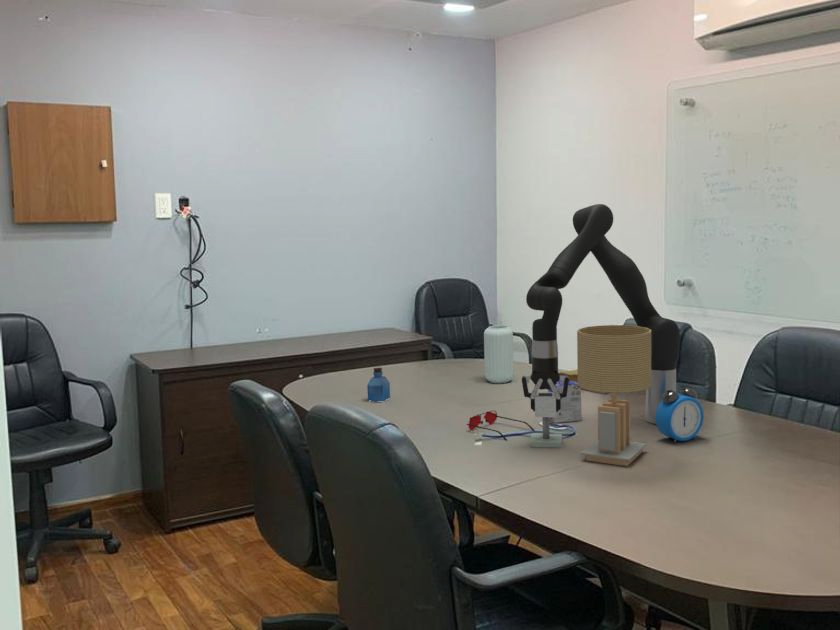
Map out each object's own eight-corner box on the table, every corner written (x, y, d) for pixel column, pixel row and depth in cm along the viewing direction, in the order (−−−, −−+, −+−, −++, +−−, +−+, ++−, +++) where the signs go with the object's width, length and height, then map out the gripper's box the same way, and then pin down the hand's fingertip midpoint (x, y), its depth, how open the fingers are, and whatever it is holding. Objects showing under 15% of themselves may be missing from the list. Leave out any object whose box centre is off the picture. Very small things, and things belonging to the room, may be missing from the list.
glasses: (495, 423, 261) (494, 408, 260) (535, 431, 249) (535, 416, 248) (466, 432, 251) (465, 416, 250) (506, 442, 239) (506, 425, 239)
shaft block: (561, 438, 239) (561, 407, 238) (561, 447, 230) (561, 415, 229) (531, 438, 241) (531, 407, 239) (530, 447, 232) (529, 415, 231)
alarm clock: (668, 445, 229) (668, 394, 227) (654, 439, 235) (654, 389, 233) (704, 438, 234) (704, 388, 232) (689, 433, 240) (690, 384, 238)
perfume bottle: (368, 401, 295) (366, 369, 293) (375, 397, 300) (373, 366, 299) (383, 402, 292) (381, 370, 291) (390, 398, 298) (388, 367, 297)
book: (635, 388, 301) (635, 373, 300) (605, 396, 291) (605, 380, 290) (585, 379, 321) (585, 364, 320) (556, 385, 311) (555, 370, 311)
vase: (494, 377, 329) (493, 324, 326) (518, 380, 322) (517, 325, 319) (479, 382, 320) (478, 327, 317) (504, 385, 313) (503, 329, 310)
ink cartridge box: (575, 416, 264) (575, 373, 262) (582, 420, 258) (582, 376, 256) (547, 419, 261) (547, 375, 260) (554, 423, 256) (553, 379, 254)
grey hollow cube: (556, 412, 237) (556, 392, 236) (556, 417, 231) (555, 397, 230) (535, 411, 238) (535, 392, 237) (535, 417, 232) (534, 397, 231)
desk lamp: (638, 471, 207) (639, 337, 203) (567, 461, 218) (566, 333, 213) (659, 451, 224) (660, 327, 219) (592, 442, 234) (591, 323, 229)
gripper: (570, 352, 234) (570, 408, 237) (520, 352, 237) (521, 407, 239) (570, 357, 227) (570, 414, 229) (519, 357, 230) (520, 414, 232)
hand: (545, 410), depth 234 cm, fingers closed on grey hollow cube, 6 cm apart
